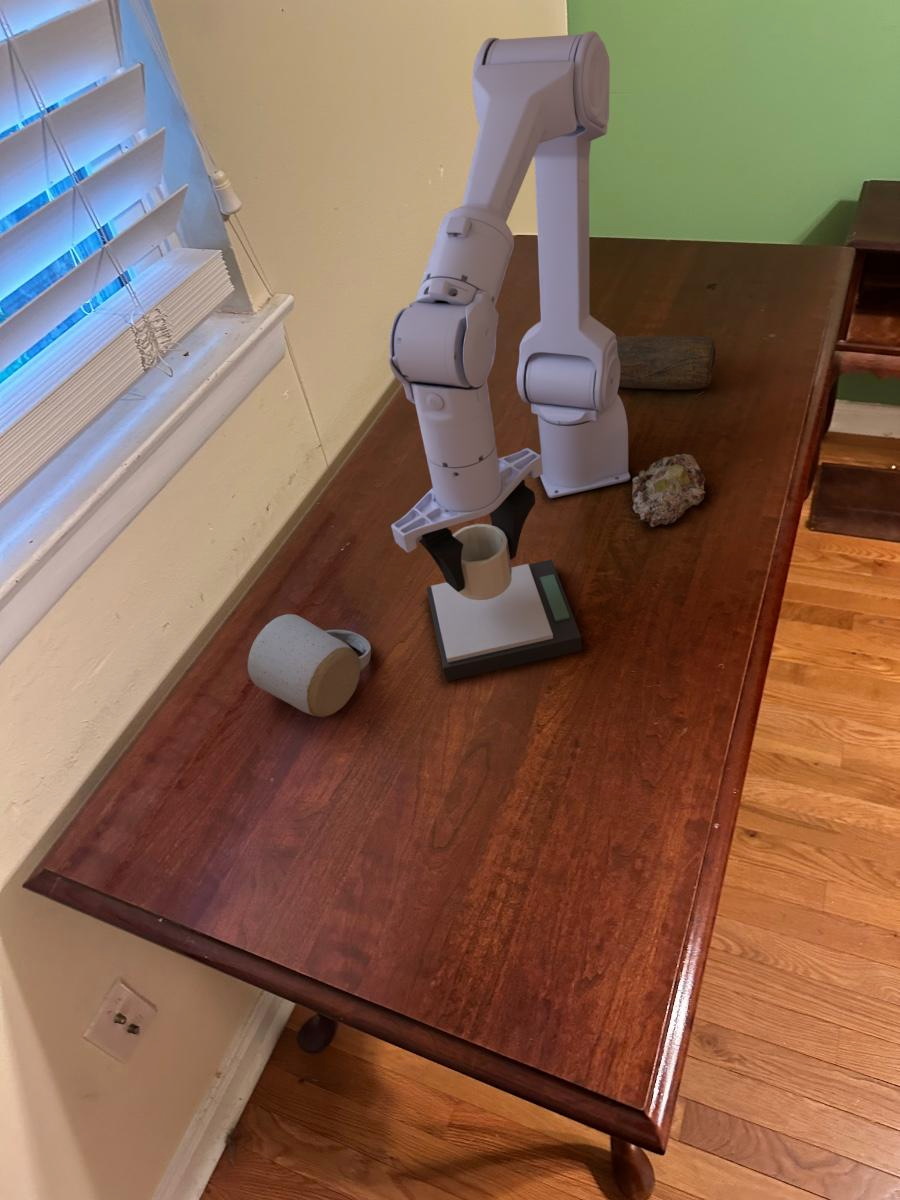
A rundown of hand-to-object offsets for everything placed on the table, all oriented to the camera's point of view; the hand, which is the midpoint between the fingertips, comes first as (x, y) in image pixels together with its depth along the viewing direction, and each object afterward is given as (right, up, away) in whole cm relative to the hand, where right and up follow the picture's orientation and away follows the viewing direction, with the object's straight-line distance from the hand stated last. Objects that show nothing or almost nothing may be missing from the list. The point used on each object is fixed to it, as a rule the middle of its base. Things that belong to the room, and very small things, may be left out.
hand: (481, 568), depth 78 cm
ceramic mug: (-15, -11, +4) cm, 19 cm away
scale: (+2, -5, +5) cm, 8 cm away
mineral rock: (+21, +8, +15) cm, 27 cm away
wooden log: (+23, +25, +31) cm, 45 cm away
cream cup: (0, -1, +1) cm, 1 cm away
